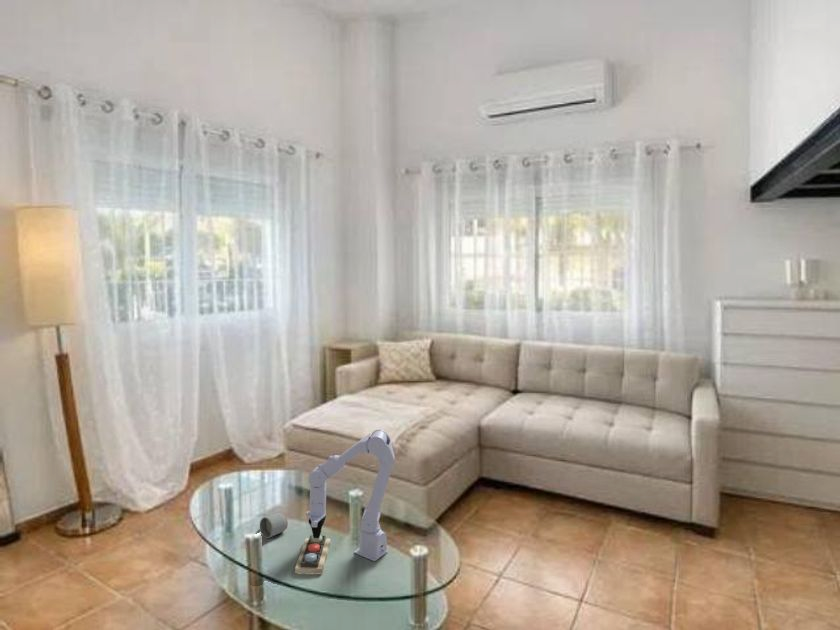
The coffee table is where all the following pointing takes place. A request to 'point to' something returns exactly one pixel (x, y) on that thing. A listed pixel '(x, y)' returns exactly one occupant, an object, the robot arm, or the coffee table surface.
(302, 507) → the coffee table surface
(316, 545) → the red button
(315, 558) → the slate blue button
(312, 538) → the sage green button
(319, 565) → the button panel
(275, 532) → the ceramic mug
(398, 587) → the coffee table surface
